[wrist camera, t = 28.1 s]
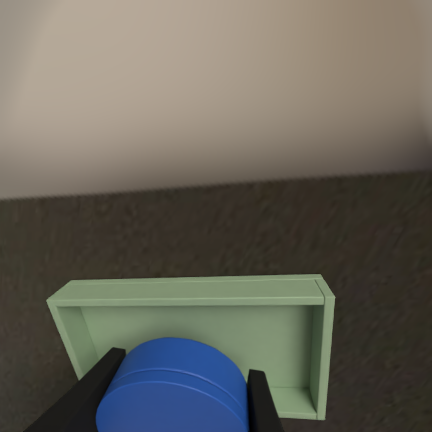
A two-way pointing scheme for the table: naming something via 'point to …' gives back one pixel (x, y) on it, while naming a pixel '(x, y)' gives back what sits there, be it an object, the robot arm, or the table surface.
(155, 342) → the lid
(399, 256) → the table surface
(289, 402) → the tray
